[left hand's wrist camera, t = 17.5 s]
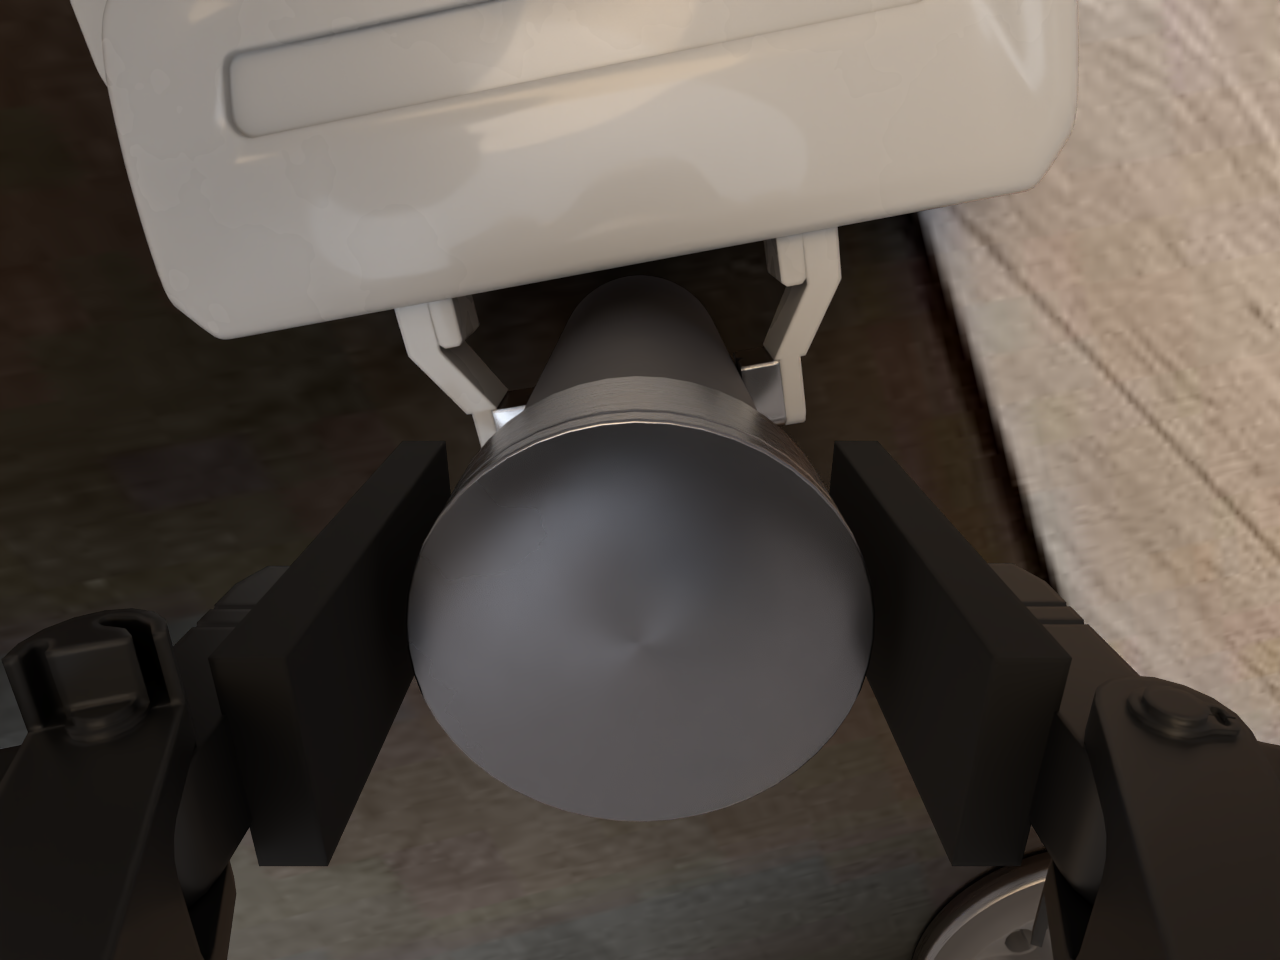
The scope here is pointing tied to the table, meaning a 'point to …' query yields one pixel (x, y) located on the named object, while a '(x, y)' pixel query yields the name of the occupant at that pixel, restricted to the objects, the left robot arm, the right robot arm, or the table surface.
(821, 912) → the table surface
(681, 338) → the jar
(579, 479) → the lid
